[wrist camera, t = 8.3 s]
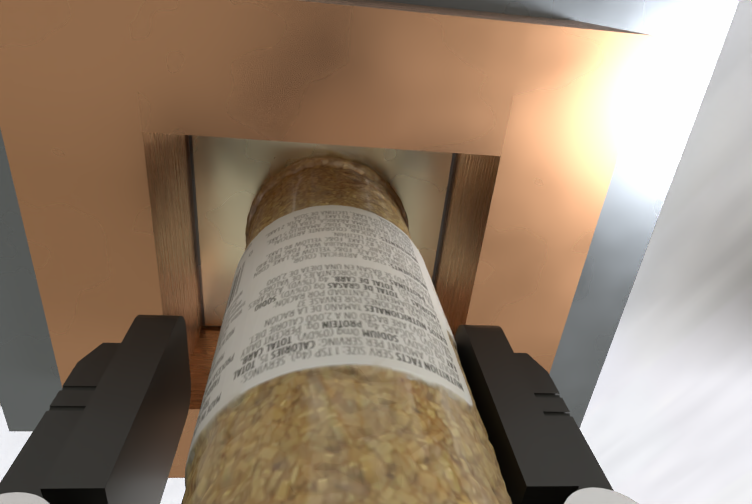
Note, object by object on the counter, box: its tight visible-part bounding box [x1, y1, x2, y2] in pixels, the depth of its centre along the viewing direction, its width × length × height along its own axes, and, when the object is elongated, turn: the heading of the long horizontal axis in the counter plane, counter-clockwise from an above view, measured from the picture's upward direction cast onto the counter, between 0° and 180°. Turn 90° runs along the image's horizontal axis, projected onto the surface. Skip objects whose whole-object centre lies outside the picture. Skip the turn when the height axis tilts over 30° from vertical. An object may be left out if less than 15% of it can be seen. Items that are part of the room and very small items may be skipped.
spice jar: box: [182, 157, 512, 504], centre depth 9 cm, size 5×5×14 cm
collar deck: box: [0, 0, 739, 478], centre depth 14 cm, size 20×16×4 cm
